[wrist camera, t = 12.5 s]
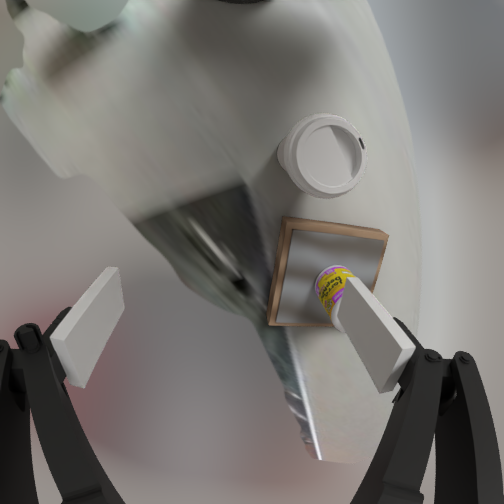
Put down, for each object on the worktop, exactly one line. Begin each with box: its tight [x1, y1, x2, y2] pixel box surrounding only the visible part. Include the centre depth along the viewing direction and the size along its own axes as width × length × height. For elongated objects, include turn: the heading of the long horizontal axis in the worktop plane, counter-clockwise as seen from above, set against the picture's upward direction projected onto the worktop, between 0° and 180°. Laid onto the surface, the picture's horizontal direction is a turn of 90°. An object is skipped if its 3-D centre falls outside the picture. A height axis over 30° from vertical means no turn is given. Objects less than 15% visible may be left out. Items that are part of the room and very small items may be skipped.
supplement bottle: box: [315, 265, 355, 333], centre depth 37 cm, size 7×7×13 cm
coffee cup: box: [277, 113, 367, 198], centre depth 32 cm, size 10×10×15 cm
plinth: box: [266, 216, 389, 326], centre depth 45 cm, size 18×18×4 cm
